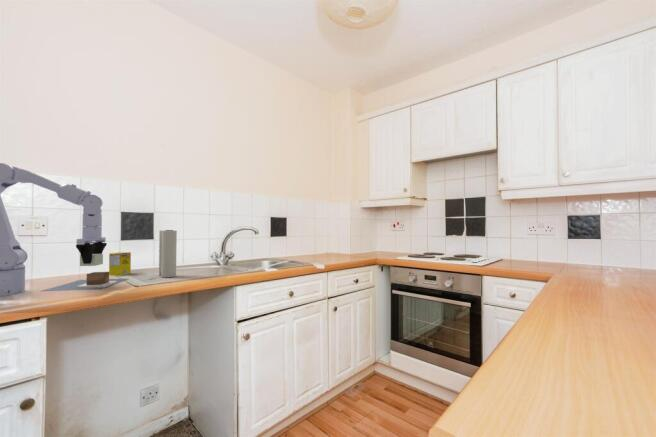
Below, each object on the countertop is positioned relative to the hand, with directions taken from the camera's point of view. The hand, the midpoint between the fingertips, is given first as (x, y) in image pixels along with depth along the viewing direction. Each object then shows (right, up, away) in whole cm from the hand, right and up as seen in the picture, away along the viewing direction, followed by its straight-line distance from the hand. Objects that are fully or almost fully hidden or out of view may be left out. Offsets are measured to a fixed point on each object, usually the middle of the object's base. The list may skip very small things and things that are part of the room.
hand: (91, 262), depth 112 cm
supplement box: (-7, -10, +25) cm, 28 cm away
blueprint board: (-2, -10, +2) cm, 10 cm away
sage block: (0, -1, 0) cm, 1 cm away
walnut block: (+2, -8, 0) cm, 8 cm away
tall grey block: (+16, -10, +25) cm, 31 cm away
